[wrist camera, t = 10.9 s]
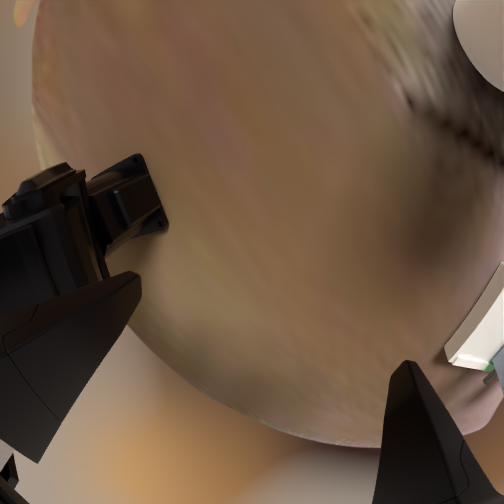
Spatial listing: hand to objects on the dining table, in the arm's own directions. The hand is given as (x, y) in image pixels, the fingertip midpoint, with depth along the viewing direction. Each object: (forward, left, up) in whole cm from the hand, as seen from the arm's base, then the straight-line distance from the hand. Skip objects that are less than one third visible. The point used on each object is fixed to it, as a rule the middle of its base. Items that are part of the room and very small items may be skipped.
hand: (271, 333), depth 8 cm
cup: (+18, +10, -12) cm, 24 cm away
